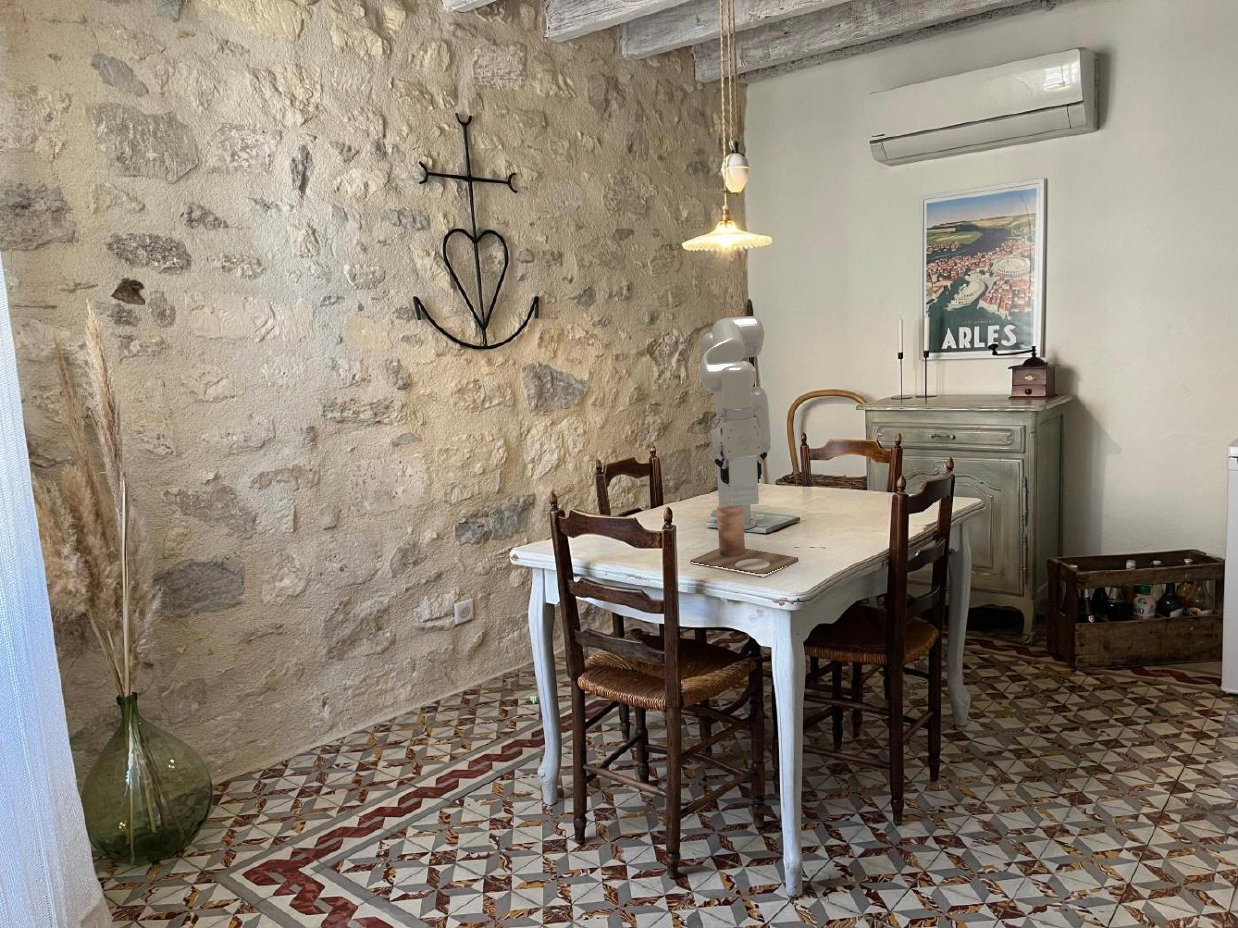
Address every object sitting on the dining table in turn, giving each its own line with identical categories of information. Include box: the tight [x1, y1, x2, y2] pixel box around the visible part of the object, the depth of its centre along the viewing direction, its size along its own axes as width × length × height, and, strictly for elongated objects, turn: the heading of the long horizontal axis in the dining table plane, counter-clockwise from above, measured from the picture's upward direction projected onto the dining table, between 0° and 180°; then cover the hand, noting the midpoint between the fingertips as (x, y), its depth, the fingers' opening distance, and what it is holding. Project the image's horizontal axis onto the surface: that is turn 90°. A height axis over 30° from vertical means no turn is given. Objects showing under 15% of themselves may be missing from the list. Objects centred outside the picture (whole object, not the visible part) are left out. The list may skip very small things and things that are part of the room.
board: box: [690, 504, 799, 574], centre depth 252 cm, size 24×16×14 cm, turn 47°
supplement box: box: [726, 455, 759, 506], centre depth 243 cm, size 7×7×13 cm
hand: (741, 480), depth 243 cm, fingers closed on supplement box, 8 cm apart
